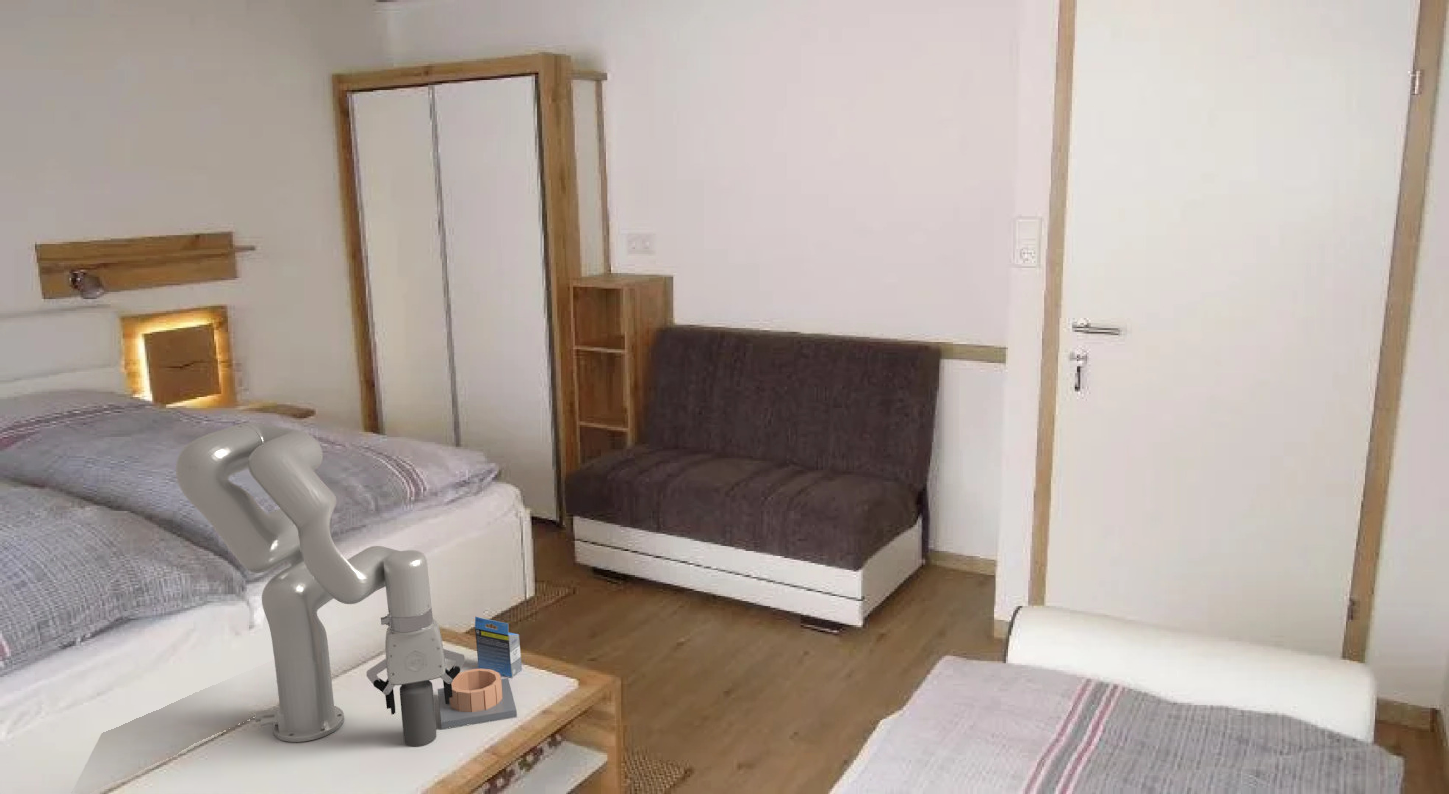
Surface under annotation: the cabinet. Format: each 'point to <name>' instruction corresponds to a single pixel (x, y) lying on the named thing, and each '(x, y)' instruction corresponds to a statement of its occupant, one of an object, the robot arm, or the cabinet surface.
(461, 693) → the holder
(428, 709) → the bottle
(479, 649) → the label tape box
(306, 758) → the cabinet surface
